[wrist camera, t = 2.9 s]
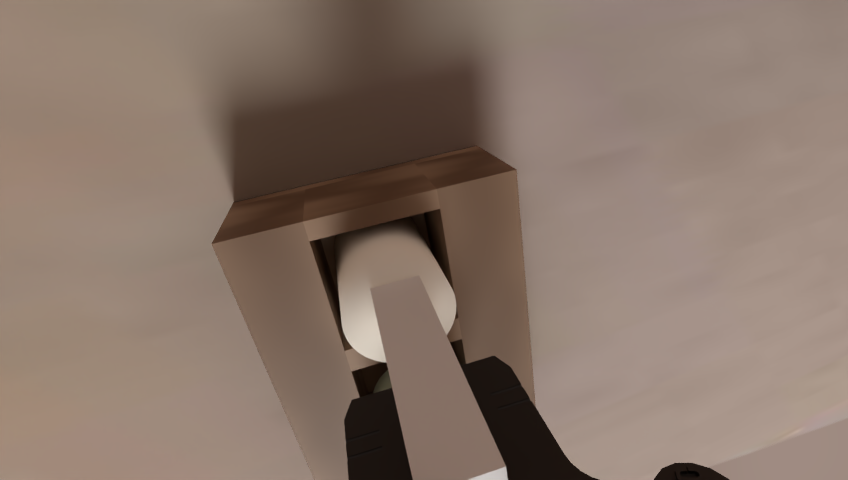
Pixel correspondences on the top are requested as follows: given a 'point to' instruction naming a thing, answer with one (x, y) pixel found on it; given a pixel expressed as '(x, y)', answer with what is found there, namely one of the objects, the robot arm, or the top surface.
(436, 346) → the robot arm
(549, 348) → the top surface
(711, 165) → the top surface
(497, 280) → the socket block
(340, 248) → the white egg
